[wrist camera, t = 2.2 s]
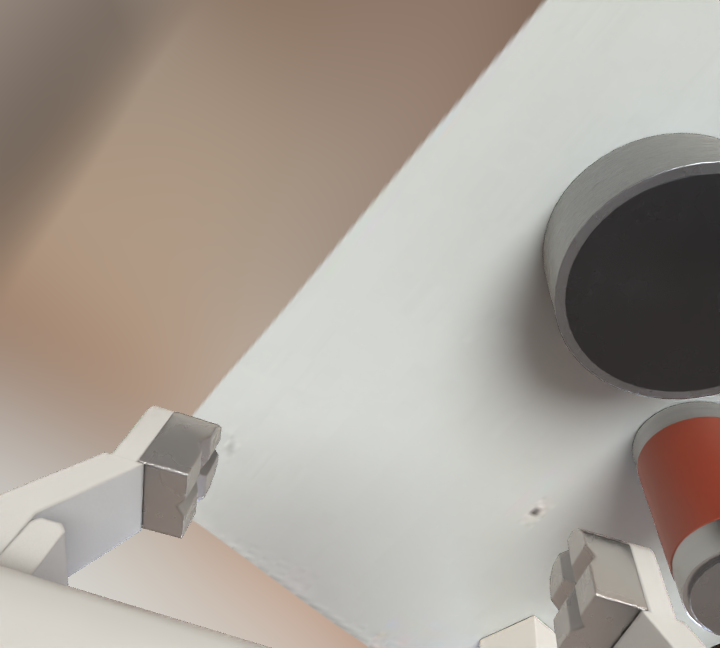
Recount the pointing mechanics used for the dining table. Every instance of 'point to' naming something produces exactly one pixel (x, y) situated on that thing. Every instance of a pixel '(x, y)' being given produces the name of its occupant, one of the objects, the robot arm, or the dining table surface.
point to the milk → (522, 636)
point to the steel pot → (642, 266)
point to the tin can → (686, 500)
